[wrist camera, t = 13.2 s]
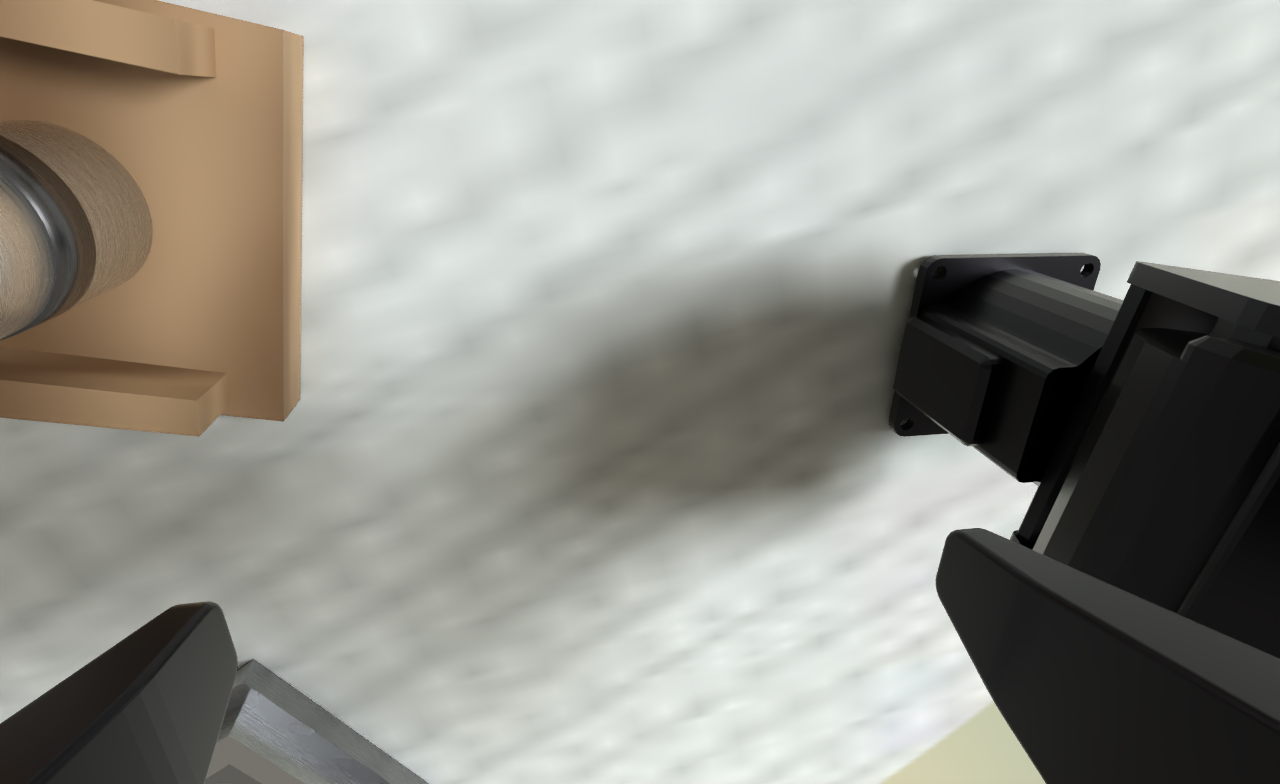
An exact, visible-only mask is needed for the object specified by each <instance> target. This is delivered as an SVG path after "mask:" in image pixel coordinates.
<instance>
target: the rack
mask: <svg viewBox="0 0 1280 784" xmlns="http://www.w3.org/2000/svg"><path fill="white" fill-rule="evenodd" d="M8 120H31V121H40V122H46V123H51V124H55V125H58V126H61V127H65V128H67V129H69V130H72V131H74V132H77V133H79V134H81V135H83V136H84V137H86V138H88V139H90V140H92V141H93V142H95V143H96V144H98V145H99V146H101V147H102V148H104V149H105V150H106V151H107V152H109V153H110V154H111V155H112V156H114V157H115V158H116V159H117V160H118V161H119V162H120V163H121V164H122V165H123V166H124V167H125V169H126V170H127V171H128V172H129V174H130V175H131V176H132V177H133V179H134V180H135V182H136V183H137V185H138V186H139V188H140V190H141V192H142V194H143V195H144V197H145V200H146V202H147V205H148V208H149V211H150V215H151V219H152V228H153V237H152V245H151V249H150V253H149V255H148V257H147V260H146V261H145V263H144V265H143V266H142V268H141V269H140V270H139V271H138V272H137V273H136V274H135V276H133V277H132V278H131V279H129V280H128V281H127V282H125V283H123V284H121V285H119V286H118V287H115V288H113V289H111V290H109V291H106V292H104V293H102V294H100V295H97V296H95V297H93V298H91V299H89V300H86V301H84V302H82V303H80V304H77V305H75V306H73V307H71V308H70V309H69V310H68V311H66V312H64V313H62V314H60V315H59V316H57V317H55V318H52V319H50V320H48V321H46V322H44V323H41V324H39V325H37V326H35V327H33V328H30V329H28V330H26V331H24V332H22V333H19V334H17V335H14V336H12V337H9V338H6V339H3V340H0V417H2V418H12V419H23V420H33V421H43V422H54V423H64V424H75V425H85V426H96V427H106V428H117V429H127V430H138V431H148V432H159V433H169V434H179V435H190V436H200V435H201V434H202V433H203V432H204V431H205V430H206V429H207V428H208V427H209V426H210V424H211V423H212V422H213V421H214V420H215V419H216V418H217V417H218V416H219V415H227V416H237V417H247V418H256V419H266V420H276V421H284V420H285V419H286V417H287V416H288V415H289V413H290V412H291V411H292V410H293V408H294V407H295V406H296V404H297V403H298V402H299V400H300V358H301V249H302V140H303V36H300V35H297V34H294V33H291V32H288V31H284V30H281V29H276V28H272V27H268V26H264V25H259V24H255V23H251V22H247V21H242V20H238V19H234V18H230V17H225V16H221V15H217V14H213V13H208V12H204V11H200V10H196V9H191V8H187V7H183V6H178V5H174V4H170V3H166V2H161V1H157V0H0V121H8Z"/></svg>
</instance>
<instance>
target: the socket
mask: <svg viewBox="0 0 1280 784" xmlns="http://www.w3.org/2000/svg"><path fill="white" fill-rule="evenodd" d="M205 784H428V783H427V782H425V781H424V780H422V779H421V778H420V777H418V776H417V775H415V774H414V773H412V772H411V771H410V770H408V769H407V768H405V767H404V766H403V765H401V764H400V763H398V762H397V761H396V760H394V759H393V758H391V757H390V756H389V755H387V754H386V753H384V752H383V751H382V750H380V749H379V748H377V747H376V746H375V745H373V744H372V743H370V742H369V741H368V740H366V739H365V738H363V737H362V736H360V735H359V734H358V733H356V732H355V731H353V730H352V729H351V728H349V727H348V726H346V725H345V724H344V723H342V722H341V721H339V720H338V719H337V718H335V717H334V716H332V715H331V714H330V713H328V712H327V711H325V710H324V709H323V708H321V707H320V706H318V705H317V704H315V703H314V702H313V701H311V700H310V699H308V698H307V697H306V696H304V695H303V694H301V693H300V692H299V691H297V690H296V689H294V688H293V687H292V686H290V685H289V684H287V683H286V682H285V681H283V680H282V679H280V678H279V677H278V676H276V675H275V674H273V673H272V672H270V671H269V670H268V669H266V668H265V667H263V666H262V665H261V664H259V663H258V662H256V661H255V660H252V661H251V662H249V663H247V664H246V665H244V666H243V667H241V668H240V669H238V670H237V674H236V678H235V682H234V685H233V689H232V692H231V695H230V699H229V702H228V706H227V709H226V712H225V716H224V719H223V723H222V726H221V729H220V733H219V736H218V740H217V743H216V746H215V750H214V753H213V757H212V760H211V763H210V767H209V770H208V774H207V777H206V780H205Z"/></svg>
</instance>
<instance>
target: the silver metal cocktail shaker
mask: <svg viewBox="0 0 1280 784" xmlns="http://www.w3.org/2000/svg"><path fill="white" fill-rule="evenodd" d="M152 237H153V228H152V219H151V215H150V211H149V208H148V205H147V202H146V200H145V197H144V195H143V194H142V192H141V190H140V188H139V186H138V185H137V183H136V182H135V180H134V179H133V177H132V176H131V175H130V174H129V172H128V171H127V170H126V169H125V167H124V166H123V165H122V164H121V163H120V162H119V161H118V160H117V159H116V158H115V157H114V156H112V155H111V154H110V153H109V152H107V151H106V150H105V149H104V148H102V147H101V146H99V145H98V144H96V143H95V142H93V141H92V140H90V139H88V138H86V137H84V136H83V135H81V134H79V133H77V132H74V131H72V130H69V129H67V128H65V127H61V126H58V125H55V124H51V123H46V122H40V121H31V120H8V121H0V340H3V339H6V338H9V337H12V336H14V335H17V334H19V333H22V332H24V331H26V330H28V329H30V328H33V327H35V326H37V325H39V324H41V323H44V322H46V321H48V320H50V319H52V318H55V317H57V316H59V315H60V314H62V313H64V312H66V311H68V310H69V309H70V308H71V307H73V306H75V305H77V304H80V303H82V302H84V301H86V300H89V299H91V298H93V297H95V296H97V295H100V294H102V293H104V292H106V291H109V290H111V289H113V288H115V287H118V286H119V285H121V284H123V283H125V282H127V281H128V280H129V279H131V278H132V277H133V276H135V274H136V273H137V272H138V271H139V270H140V269H141V268H142V266H143V265H144V263H145V261H146V260H147V257H148V255H149V253H150V249H151V245H152Z"/></svg>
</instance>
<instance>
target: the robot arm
mask: <svg viewBox="0 0 1280 784" xmlns="http://www.w3.org/2000/svg"><path fill="white" fill-rule="evenodd" d="M1083 265H1084V269H1083V271H1082V272H1081V273H1080V270H1081V268H1082V266H1083ZM1100 265H1101V264H1100V260H1099V259H1098V258H1097V257H1096V256H1092V255H1089V254H1085V253H1052V254H997V255H943V256H932V257H929V258H927V259H926V260H925V261H924V262H923V263H922V264H921V266H920V268H919V271H918V276H917V281H916V286H915V291H914V296H913V301H912V306H911V311H910V316H909V320H908V322H907V323H906V326H905V331H904V336H903V341H902V346H901V351H900V356H899V361H898V366H897V371H896V376H895V381H894V389H895V391H894V396H893V401H892V406H891V411H890V416H889V426H890V428H891V429H892V430H893V431H894V432H895V433H897V434H898V435H900V436H917V435H932V434H947V433H949V434H951V435H952V436H953V437H955V438H956V439H957V440H959V441H960V442H961V443H962V444H964V445H966V446H973V447H974V448H975V449H976V450H978V451H979V452H980V453H982V454H983V455H984V456H986V457H987V458H988V459H990V460H991V461H992V462H994V463H995V464H996V465H998V466H999V467H1000V468H1001V469H1003V470H1004V471H1005V472H1007V473H1008V474H1009V475H1011V476H1012V477H1013V478H1015V479H1016V480H1017V481H1019V482H1023V483H1026V482H1033V483H1035V484H1036V485H1037V486H1038V489H1037V491H1036V493H1035V495H1034V497H1033V500H1032V502H1031V504H1030V506H1029V508H1028V511H1027V513H1026V515H1025V517H1024V519H1023V521H1022V524H1021V526H1020V528H1019V530H1017V531H1014V532H1013V534H1012V536H1011V538H1010V540H1008V539H1006V538H1004V537H1001V536H999V535H997V534H995V533H992V532H990V531H988V530H985V529H981V528H972V529H962V530H955V531H953V532H951V533H950V534H949V535H948V537H947V539H946V541H945V545H944V549H943V553H942V557H941V560H940V564H939V568H938V572H937V575H936V589H937V593H938V596H939V598H940V600H941V602H942V604H943V606H944V608H945V610H946V612H947V614H948V616H949V618H950V620H951V621H952V623H953V625H954V627H955V629H956V631H957V633H958V635H959V637H960V639H961V641H962V643H963V644H964V646H965V648H966V650H967V652H968V654H969V656H970V658H971V660H972V662H973V664H974V665H975V667H976V669H977V671H978V673H979V675H980V677H981V679H982V681H983V683H984V685H985V686H986V688H987V690H988V692H989V694H990V695H991V697H992V699H993V701H994V702H995V704H996V706H997V707H998V709H999V711H1000V712H1001V714H1002V715H1003V717H1004V719H1005V720H1006V722H1007V724H1008V725H1009V727H1010V728H1011V730H1012V731H1013V733H1014V734H1015V736H1016V737H1017V739H1018V741H1019V742H1020V744H1021V745H1022V747H1023V748H1024V750H1025V752H1026V753H1027V754H1028V756H1029V758H1030V759H1031V761H1032V762H1033V764H1034V765H1035V767H1036V769H1037V770H1038V771H1039V773H1040V775H1041V776H1042V778H1043V779H1044V781H1045V783H1046V784H1280V282H1279V281H1273V280H1266V279H1259V278H1252V277H1245V276H1238V275H1231V274H1224V273H1217V272H1210V271H1203V270H1196V269H1189V268H1181V267H1174V266H1167V265H1160V264H1153V263H1146V262H1139V261H1136V263H1135V266H1134V268H1133V270H1132V272H1131V274H1130V277H1129V279H1128V281H1127V282H1128V283H1130V284H1131V285H1130V288H1129V290H1128V292H1127V294H1126V296H1125V299H1124V301H1123V300H1120V299H1117V298H1114V297H1111V296H1108V295H1105V294H1102V293H1099V292H1096V291H1093V290H1094V286H1095V283H1096V280H1097V277H1098V274H1099V271H1100ZM938 266H939V273H938V275H937V276H935V277H934V278H932V273H933V271H934V269H935V268H937V267H938ZM906 418H908V419H907V421H906V423H904V424H903V425H901V423H902V421H903V420H904V419H906ZM236 674H237V655H236V651H235V648H234V645H233V642H232V639H231V636H230V632H229V629H228V626H227V623H226V620H225V617H224V614H223V612H222V609H221V608H220V606H219V605H218V604H216V603H214V602H199V603H188V604H180V605H175V606H173V607H171V608H169V609H167V610H166V611H164V612H163V613H161V614H160V615H159V616H157V617H156V618H154V619H153V620H151V621H150V622H148V623H147V624H145V625H144V626H142V627H141V628H140V629H138V630H137V631H135V632H134V633H132V634H131V635H129V636H128V637H126V638H125V639H123V640H122V641H121V642H119V643H118V644H116V645H115V646H113V647H112V648H110V649H109V650H107V651H106V652H104V653H103V654H102V655H100V656H99V657H97V658H96V659H94V660H93V661H91V662H90V663H88V664H87V665H85V666H84V667H83V668H81V669H80V670H78V671H77V672H75V673H74V674H72V675H71V676H69V677H68V678H66V679H65V680H64V681H62V682H61V683H59V684H58V685H56V686H55V687H53V688H52V689H50V690H49V691H47V692H46V693H45V694H43V695H42V696H40V697H39V698H37V699H36V700H34V701H33V702H31V703H30V704H28V705H27V706H26V707H24V708H23V709H21V710H20V711H18V712H17V713H15V714H14V715H12V716H11V717H9V718H8V719H7V720H5V721H4V722H2V723H1V724H0V784H205V780H206V777H207V774H208V770H209V767H210V763H211V760H212V757H213V753H214V750H215V746H216V743H217V740H218V736H219V733H220V729H221V726H222V723H223V719H224V716H225V712H226V709H227V706H228V702H229V699H230V695H231V692H232V689H233V685H234V682H235V678H236Z"/></svg>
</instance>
